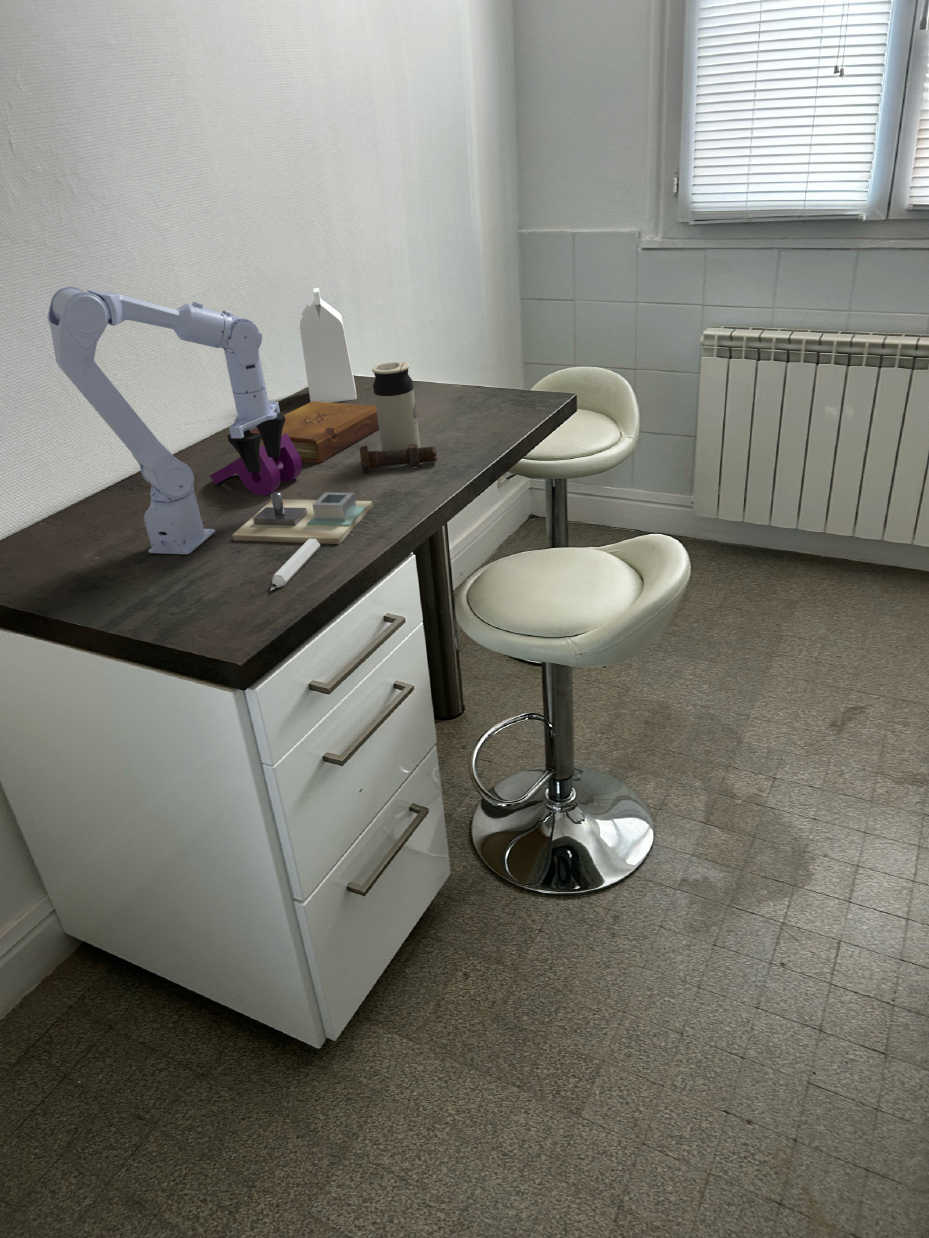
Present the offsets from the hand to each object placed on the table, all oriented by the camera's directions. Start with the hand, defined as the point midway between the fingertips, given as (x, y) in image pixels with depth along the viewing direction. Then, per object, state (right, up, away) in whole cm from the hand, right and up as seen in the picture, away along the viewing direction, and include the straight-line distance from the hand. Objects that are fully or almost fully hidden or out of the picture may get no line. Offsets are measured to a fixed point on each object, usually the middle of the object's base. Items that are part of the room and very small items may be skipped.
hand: (264, 464), depth 164 cm
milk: (+2, +29, +71) cm, 77 cm away
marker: (+9, -20, -17) cm, 28 cm away
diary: (+3, +11, +39) cm, 41 cm away
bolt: (+23, +2, +20) cm, 30 cm away
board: (+7, -11, -1) cm, 13 cm away
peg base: (+3, -11, -1) cm, 11 cm away
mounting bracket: (-6, -1, +19) cm, 20 cm away
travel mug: (+23, +7, +27) cm, 36 cm away
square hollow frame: (+13, -9, -2) cm, 16 cm away
